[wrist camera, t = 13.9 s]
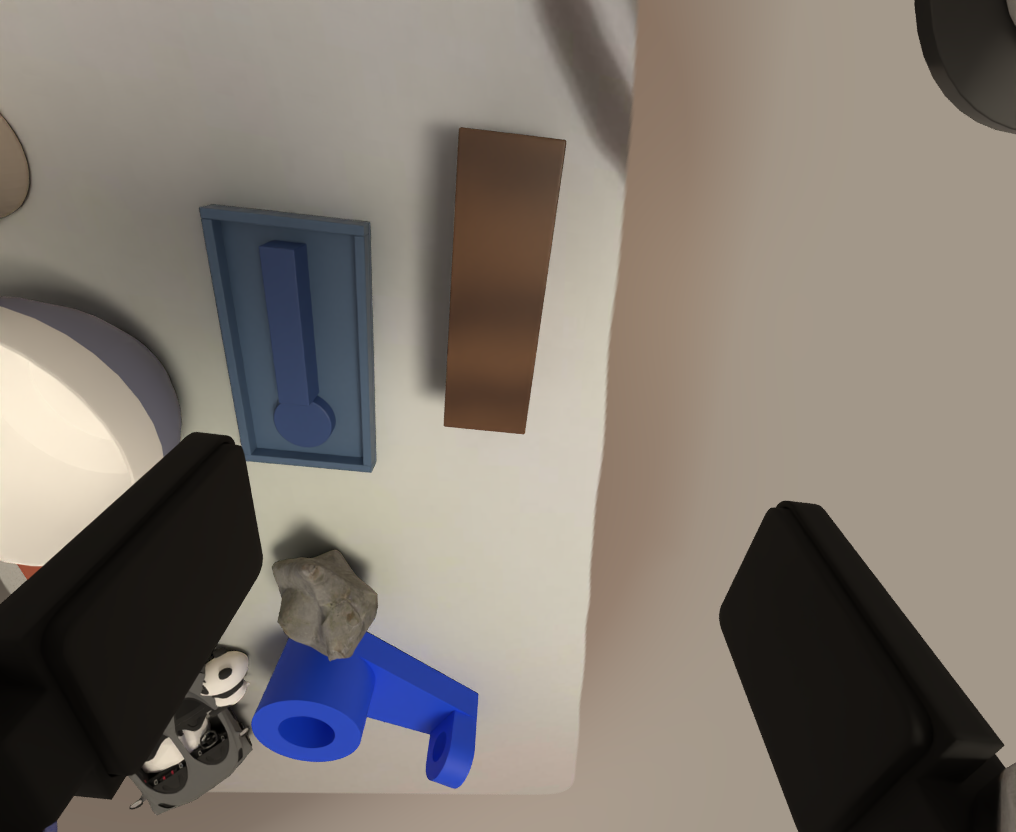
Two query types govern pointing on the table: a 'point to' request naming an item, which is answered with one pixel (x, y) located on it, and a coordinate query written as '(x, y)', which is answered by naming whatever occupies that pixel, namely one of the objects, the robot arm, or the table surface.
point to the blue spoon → (294, 345)
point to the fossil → (324, 603)
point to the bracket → (365, 706)
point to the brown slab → (499, 274)
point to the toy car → (198, 738)
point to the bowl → (72, 423)
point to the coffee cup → (11, 171)
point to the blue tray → (336, 320)
